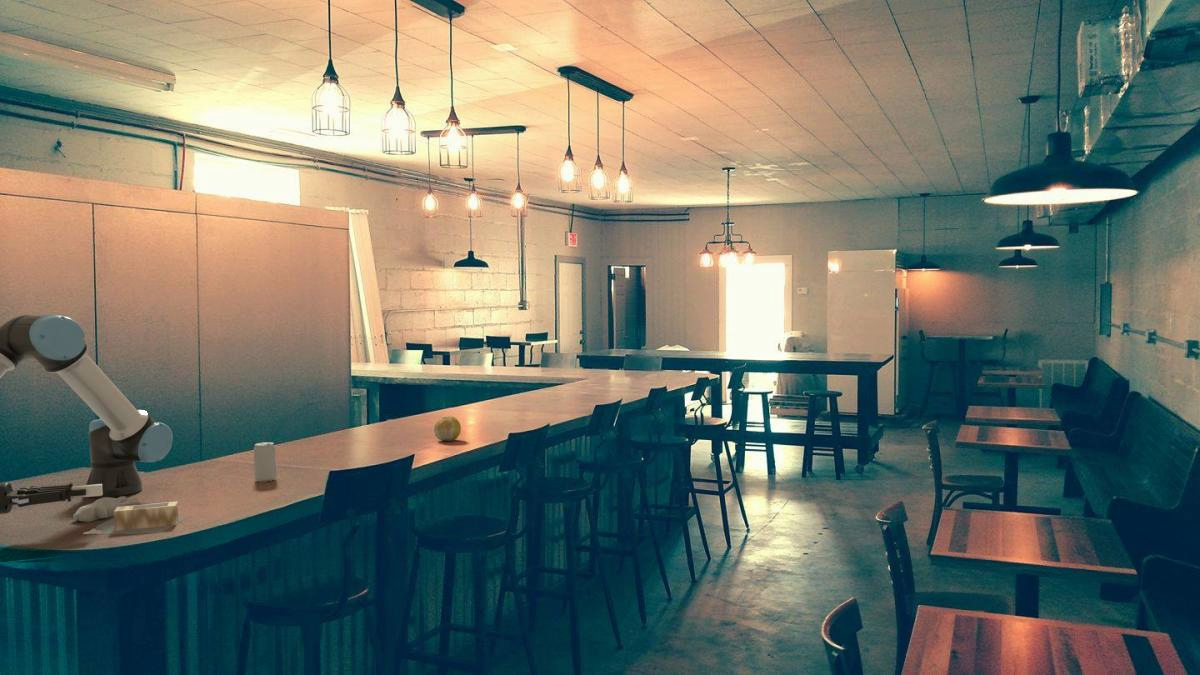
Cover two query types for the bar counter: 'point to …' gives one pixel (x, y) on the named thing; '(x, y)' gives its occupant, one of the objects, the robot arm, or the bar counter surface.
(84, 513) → the bunny figurine
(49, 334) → the robot arm
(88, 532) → the bar counter surface
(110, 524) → the rubber mat
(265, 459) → the beverage can
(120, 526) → the maple block
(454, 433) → the fruit
